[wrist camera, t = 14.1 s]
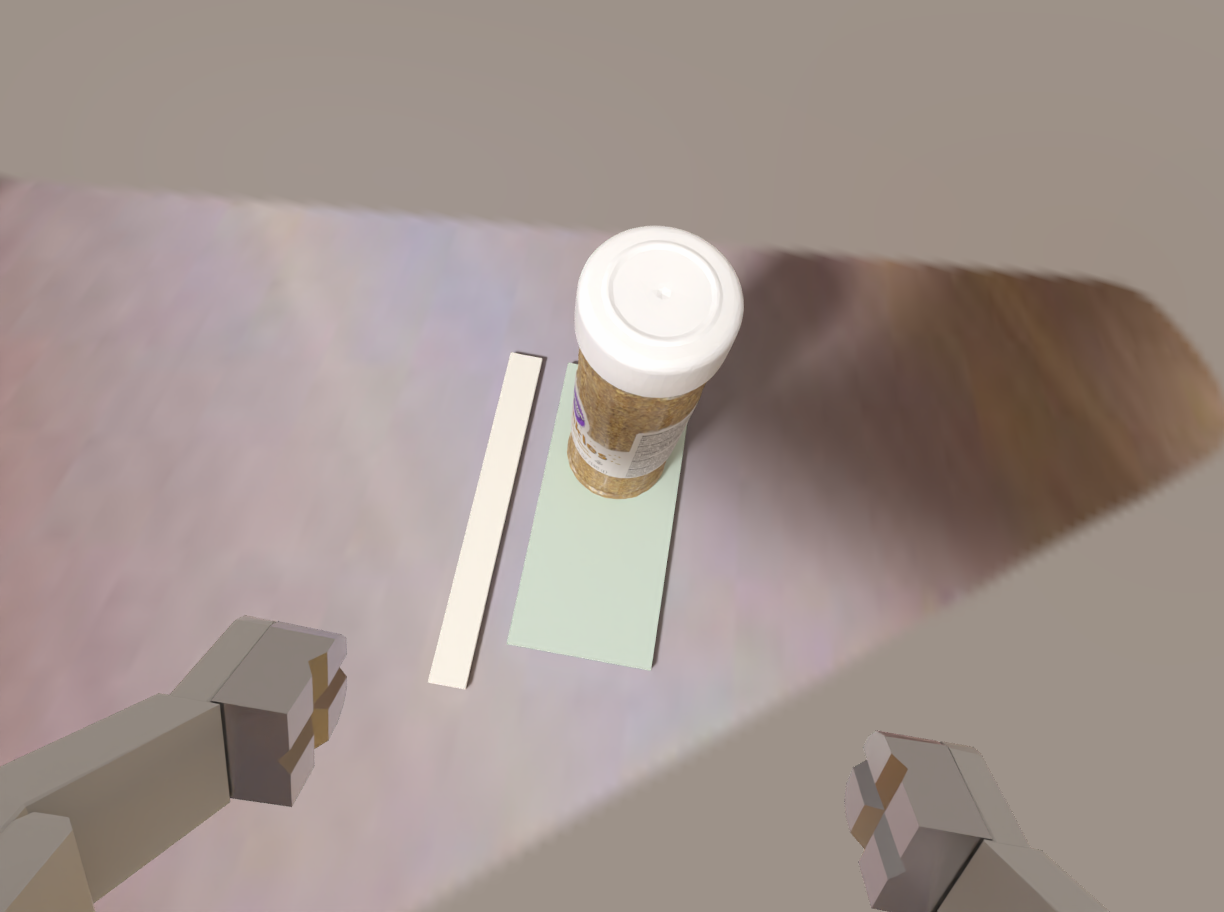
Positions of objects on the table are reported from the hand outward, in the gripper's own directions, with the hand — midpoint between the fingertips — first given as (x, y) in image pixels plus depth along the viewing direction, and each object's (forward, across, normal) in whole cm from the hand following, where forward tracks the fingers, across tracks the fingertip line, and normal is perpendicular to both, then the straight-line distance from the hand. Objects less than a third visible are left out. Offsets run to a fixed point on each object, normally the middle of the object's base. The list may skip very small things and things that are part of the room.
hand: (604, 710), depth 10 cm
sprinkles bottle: (+20, 0, +5) cm, 21 cm away
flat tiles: (+18, +1, +8) cm, 19 cm away
